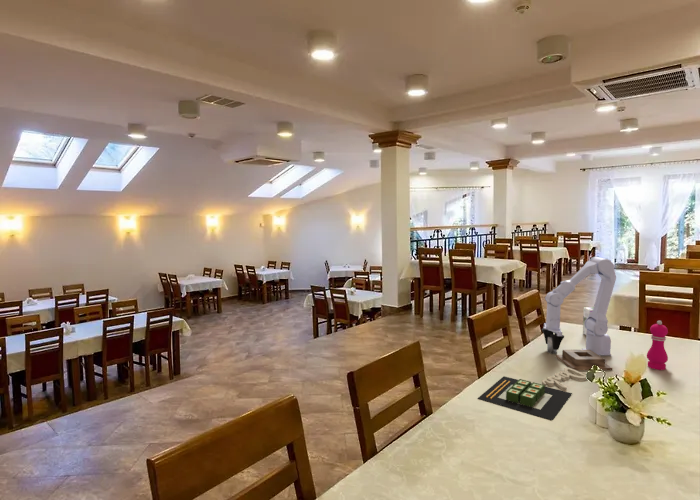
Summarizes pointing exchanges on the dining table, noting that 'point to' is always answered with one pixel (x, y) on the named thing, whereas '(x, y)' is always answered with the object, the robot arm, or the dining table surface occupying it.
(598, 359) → the socket board
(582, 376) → the decorative sign
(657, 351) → the pepper mill
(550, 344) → the peg
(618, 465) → the dining table surface
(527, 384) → the sushi
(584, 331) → the syrup box
